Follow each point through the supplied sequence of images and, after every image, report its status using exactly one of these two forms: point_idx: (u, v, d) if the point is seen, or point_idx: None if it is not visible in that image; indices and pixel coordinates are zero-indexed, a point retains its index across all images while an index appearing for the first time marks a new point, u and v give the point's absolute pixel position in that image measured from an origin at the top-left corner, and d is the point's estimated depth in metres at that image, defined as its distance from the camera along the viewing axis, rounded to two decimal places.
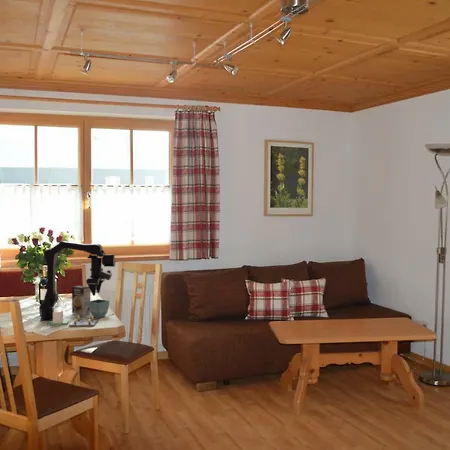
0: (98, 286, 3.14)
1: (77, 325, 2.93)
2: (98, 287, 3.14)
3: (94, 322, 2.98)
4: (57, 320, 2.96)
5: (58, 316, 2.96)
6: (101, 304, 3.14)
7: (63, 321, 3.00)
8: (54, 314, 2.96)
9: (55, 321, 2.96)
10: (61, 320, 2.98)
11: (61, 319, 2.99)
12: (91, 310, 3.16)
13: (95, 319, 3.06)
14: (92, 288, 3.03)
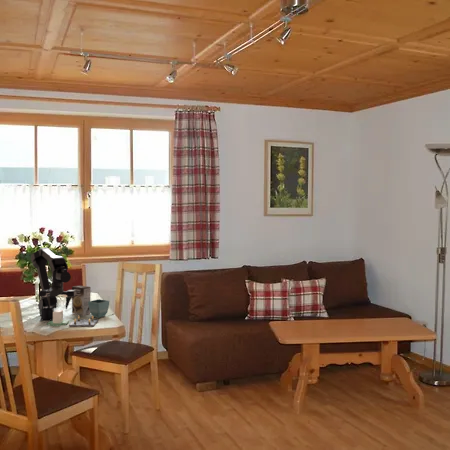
0: None
1: (77, 325, 2.93)
2: None
3: (94, 322, 2.98)
4: (57, 320, 2.96)
5: (58, 316, 2.96)
6: (101, 304, 3.14)
7: (63, 321, 3.00)
8: (54, 314, 2.96)
9: (55, 321, 2.96)
10: (61, 320, 2.98)
11: (61, 319, 2.99)
12: (91, 310, 3.16)
13: (95, 319, 3.06)
14: None
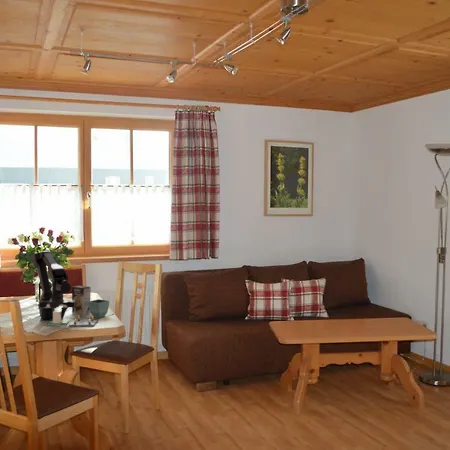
0: None
1: (77, 325, 2.93)
2: None
3: (94, 322, 2.98)
4: (57, 320, 2.96)
5: (58, 316, 2.96)
6: (101, 304, 3.14)
7: (63, 321, 3.00)
8: (54, 314, 2.96)
9: (55, 321, 2.96)
10: (61, 320, 2.98)
11: None
12: (91, 310, 3.16)
13: (95, 319, 3.06)
14: None
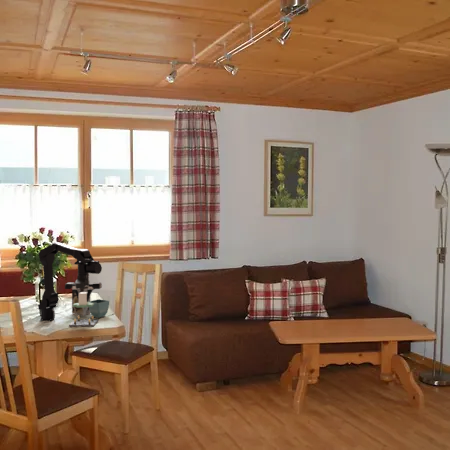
0: None
1: (77, 325, 2.93)
2: None
3: (94, 322, 2.98)
4: (83, 302, 2.96)
5: (84, 298, 2.96)
6: (101, 304, 3.14)
7: (88, 303, 3.00)
8: (80, 296, 2.96)
9: (81, 303, 2.96)
10: (87, 302, 2.98)
11: None
12: (91, 310, 3.16)
13: (95, 319, 3.06)
14: None
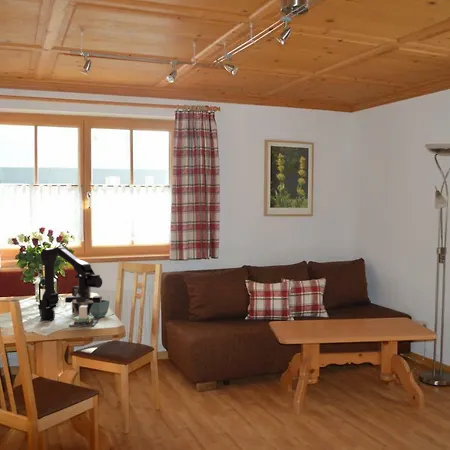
0: None
1: (77, 325, 2.93)
2: None
3: (94, 322, 2.98)
4: (83, 315, 2.96)
5: (84, 311, 2.96)
6: (101, 304, 3.14)
7: (89, 316, 3.00)
8: (80, 309, 2.96)
9: (81, 316, 2.96)
10: (87, 315, 2.98)
11: None
12: (91, 310, 3.16)
13: (95, 319, 3.06)
14: None
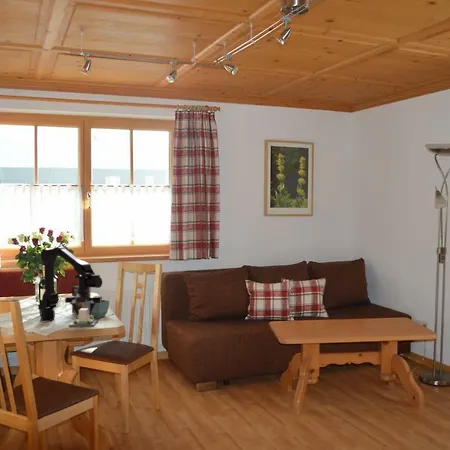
0: None
1: (77, 325, 2.93)
2: None
3: (94, 322, 2.98)
4: (83, 318, 2.96)
5: (84, 314, 2.96)
6: (101, 304, 3.14)
7: None
8: (80, 312, 2.96)
9: (81, 319, 2.96)
10: (87, 318, 2.99)
11: (87, 317, 2.99)
12: None
13: (95, 319, 3.06)
14: None
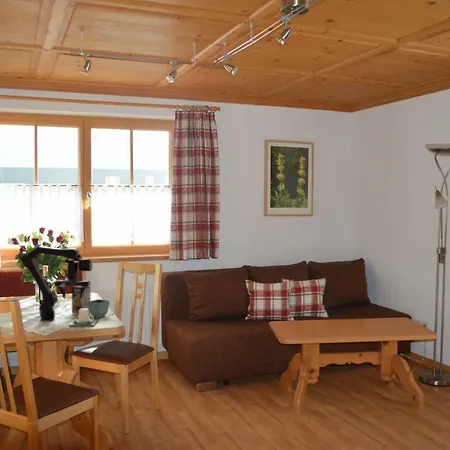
0: None
1: (77, 325, 2.93)
2: None
3: (94, 322, 2.98)
4: (83, 318, 2.96)
5: (84, 314, 2.96)
6: (101, 304, 3.14)
7: None
8: (80, 312, 2.96)
9: (81, 319, 2.96)
10: (87, 318, 2.99)
11: (87, 317, 2.99)
12: (91, 310, 3.16)
13: (95, 319, 3.06)
14: None
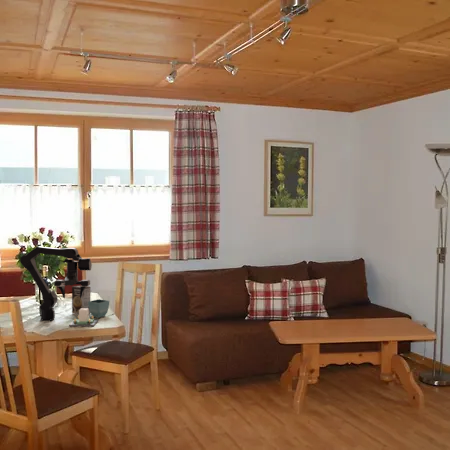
0: None
1: (77, 325, 2.93)
2: None
3: (94, 322, 2.98)
4: (83, 318, 2.96)
5: (84, 314, 2.96)
6: (101, 304, 3.14)
7: None
8: (80, 312, 2.96)
9: (81, 319, 2.96)
10: (87, 318, 2.99)
11: (87, 317, 2.99)
12: (91, 310, 3.16)
13: (95, 319, 3.06)
14: None
